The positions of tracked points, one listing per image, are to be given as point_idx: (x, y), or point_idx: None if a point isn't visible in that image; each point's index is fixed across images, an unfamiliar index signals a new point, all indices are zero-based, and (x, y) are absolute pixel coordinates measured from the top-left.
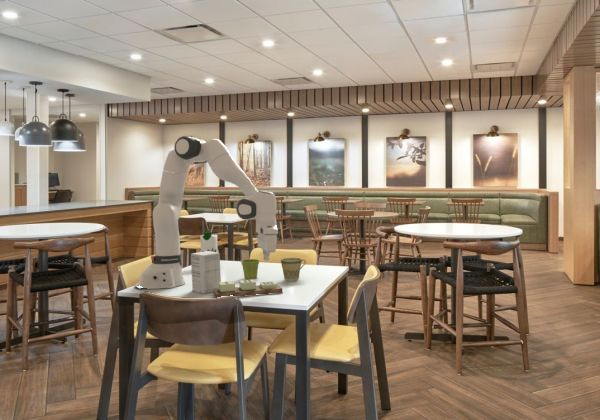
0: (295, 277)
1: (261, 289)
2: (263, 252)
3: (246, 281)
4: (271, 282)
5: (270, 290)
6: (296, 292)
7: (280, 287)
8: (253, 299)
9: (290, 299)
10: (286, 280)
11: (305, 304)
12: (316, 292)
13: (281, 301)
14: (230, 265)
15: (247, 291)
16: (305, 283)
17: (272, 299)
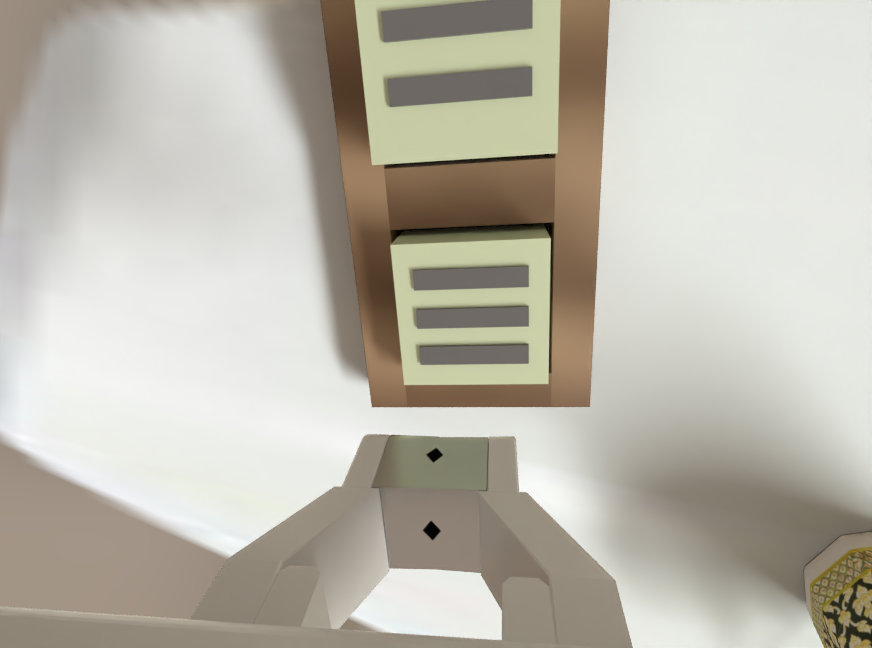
0: (816, 616)
1: (374, 217)
2: (528, 562)
3: (422, 32)
4: (481, 355)
5: (360, 298)
6: None
7: (409, 401)
8: (193, 96)
9: (158, 387)
10: (858, 535)
11: (17, 436)
12: None
13: (103, 314)
14: None
15: (327, 46)
16: (657, 617)
17: (173, 263)
